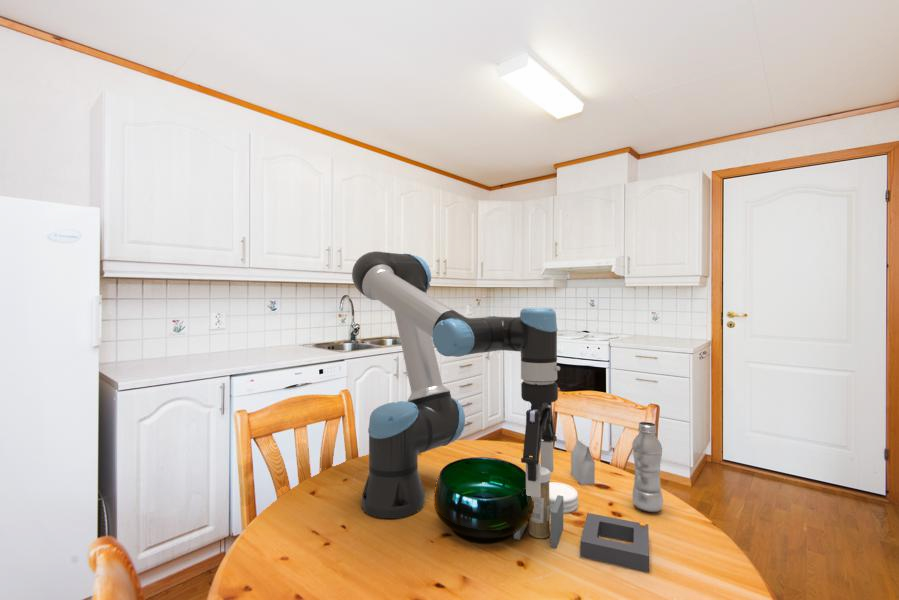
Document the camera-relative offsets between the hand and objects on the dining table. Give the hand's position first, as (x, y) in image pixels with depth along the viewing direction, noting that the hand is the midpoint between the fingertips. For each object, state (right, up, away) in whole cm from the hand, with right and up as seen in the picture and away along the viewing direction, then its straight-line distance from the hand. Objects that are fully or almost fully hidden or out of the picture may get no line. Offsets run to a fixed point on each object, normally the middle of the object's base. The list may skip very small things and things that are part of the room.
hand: (540, 482), depth 90 cm
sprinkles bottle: (0, -11, 0) cm, 11 cm away
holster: (0, -11, 0) cm, 11 cm away
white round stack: (+7, -11, +14) cm, 19 cm away
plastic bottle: (+27, -11, +11) cm, 31 cm away
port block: (+14, -11, -5) cm, 18 cm away
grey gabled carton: (+17, -11, +28) cm, 34 cm away
